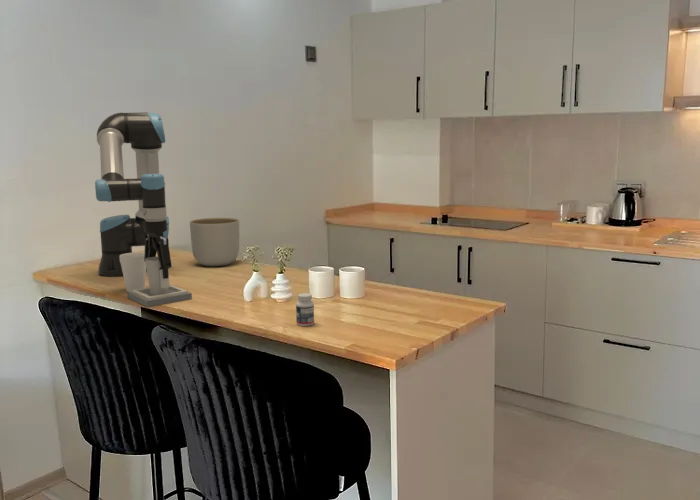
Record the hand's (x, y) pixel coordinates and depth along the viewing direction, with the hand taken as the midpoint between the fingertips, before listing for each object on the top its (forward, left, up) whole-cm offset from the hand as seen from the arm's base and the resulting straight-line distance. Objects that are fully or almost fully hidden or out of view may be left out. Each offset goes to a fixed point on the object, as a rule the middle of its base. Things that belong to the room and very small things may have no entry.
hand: (159, 285), depth 224 cm
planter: (-41, +45, -5) cm, 61 cm away
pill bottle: (+58, +19, -5) cm, 61 cm away
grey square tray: (0, 0, -5) cm, 5 cm away
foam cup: (-18, -1, -5) cm, 19 cm away
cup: (0, 0, -3) cm, 3 cm away
